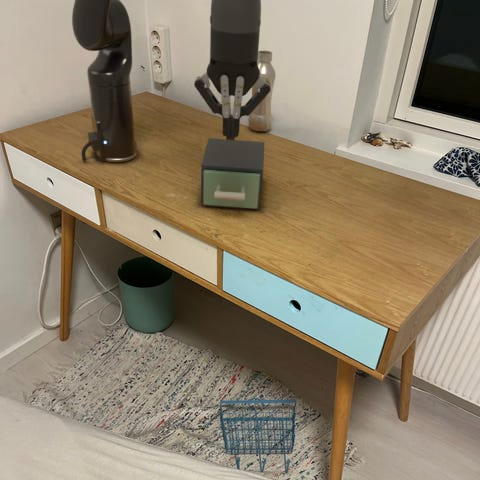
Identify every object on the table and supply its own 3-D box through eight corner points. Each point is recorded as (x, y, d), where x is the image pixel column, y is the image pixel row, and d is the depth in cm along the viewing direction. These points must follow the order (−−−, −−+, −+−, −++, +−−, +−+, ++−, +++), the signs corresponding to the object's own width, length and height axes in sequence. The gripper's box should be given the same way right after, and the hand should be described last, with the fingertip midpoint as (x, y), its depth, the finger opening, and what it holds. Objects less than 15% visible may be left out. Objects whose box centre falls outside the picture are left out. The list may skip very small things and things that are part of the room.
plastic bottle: (269, 135, 140) (276, 56, 127) (245, 132, 141) (250, 53, 128) (272, 127, 145) (279, 50, 132) (249, 124, 146) (254, 48, 133)
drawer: (256, 220, 102) (259, 187, 98) (200, 216, 102) (200, 183, 98) (258, 180, 116) (261, 149, 112) (209, 177, 116) (210, 146, 112)
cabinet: (259, 210, 108) (263, 169, 102) (201, 205, 108) (201, 165, 102) (261, 180, 119) (264, 142, 113) (208, 176, 119) (208, 137, 113)
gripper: (278, 23, 79) (268, 133, 90) (194, 17, 79) (195, 127, 91) (279, 33, 73) (268, 149, 85) (188, 27, 74) (189, 143, 85)
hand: (230, 138), depth 88 cm, fingers closed
